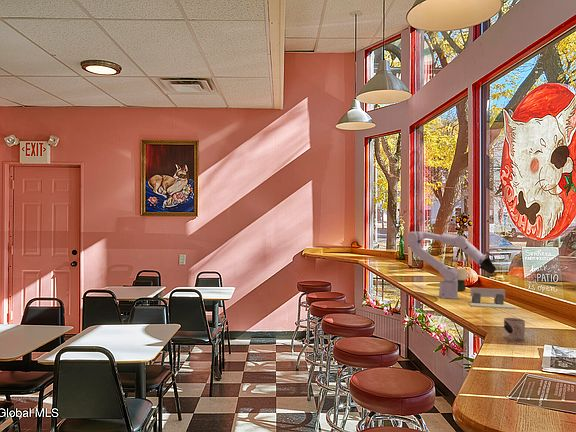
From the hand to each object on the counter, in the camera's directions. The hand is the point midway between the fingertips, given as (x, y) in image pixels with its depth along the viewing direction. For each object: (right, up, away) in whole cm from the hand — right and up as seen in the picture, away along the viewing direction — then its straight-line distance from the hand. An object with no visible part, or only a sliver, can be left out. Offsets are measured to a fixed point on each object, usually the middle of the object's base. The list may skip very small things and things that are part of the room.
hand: (493, 271), depth 243 cm
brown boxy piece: (-11, -15, -4) cm, 20 cm away
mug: (-27, -15, -78) cm, 84 cm away
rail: (-6, -12, -5) cm, 14 cm away
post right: (0, -16, -6) cm, 17 cm away
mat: (-7, -16, -13) cm, 22 cm away
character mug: (-4, -16, +38) cm, 42 cm away
